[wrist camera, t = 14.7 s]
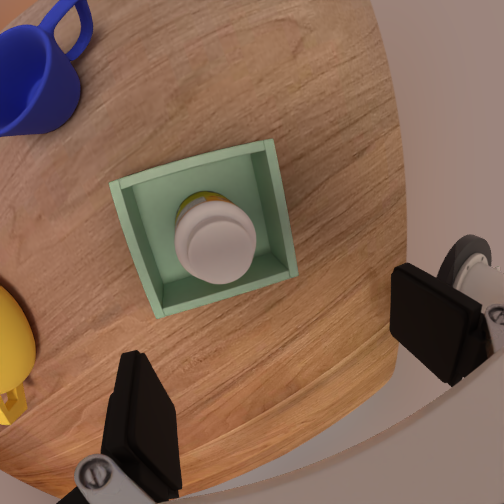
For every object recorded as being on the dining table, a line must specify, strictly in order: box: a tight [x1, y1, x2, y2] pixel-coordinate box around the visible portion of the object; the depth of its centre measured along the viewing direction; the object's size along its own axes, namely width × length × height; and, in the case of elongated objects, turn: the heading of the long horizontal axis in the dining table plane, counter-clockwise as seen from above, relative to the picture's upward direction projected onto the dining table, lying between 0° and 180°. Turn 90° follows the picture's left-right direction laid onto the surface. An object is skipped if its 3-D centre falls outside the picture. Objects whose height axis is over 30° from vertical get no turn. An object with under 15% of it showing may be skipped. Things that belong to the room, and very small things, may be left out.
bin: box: [109, 139, 299, 319], centre depth 25 cm, size 13×12×6 cm
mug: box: [0, 0, 93, 137], centre depth 15 cm, size 8×12×10 cm
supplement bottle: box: [174, 191, 256, 284], centre depth 22 cm, size 6×6×10 cm
